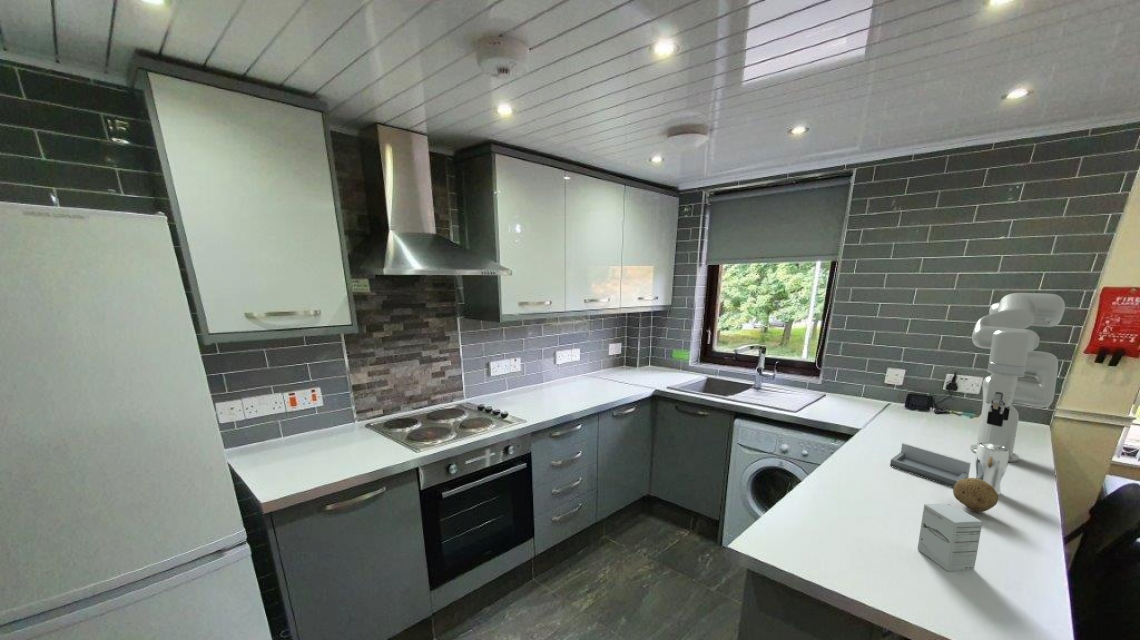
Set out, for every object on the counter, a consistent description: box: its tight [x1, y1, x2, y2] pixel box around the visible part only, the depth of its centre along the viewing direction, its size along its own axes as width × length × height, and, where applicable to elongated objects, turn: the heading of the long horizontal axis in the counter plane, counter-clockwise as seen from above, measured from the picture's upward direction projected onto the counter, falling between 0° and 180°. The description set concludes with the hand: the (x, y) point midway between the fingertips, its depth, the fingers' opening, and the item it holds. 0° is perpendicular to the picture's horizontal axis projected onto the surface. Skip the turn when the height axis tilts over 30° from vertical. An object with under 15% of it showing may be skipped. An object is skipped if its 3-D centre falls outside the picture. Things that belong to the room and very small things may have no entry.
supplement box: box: [917, 502, 983, 572], centre depth 91 cm, size 7×7×13 cm
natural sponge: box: [952, 477, 999, 513], centre depth 111 cm, size 9×9×10 cm
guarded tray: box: [889, 442, 971, 488], centre depth 133 cm, size 12×18×6 cm, turn 34°
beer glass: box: [974, 442, 1009, 497], centre depth 122 cm, size 7×7×15 cm
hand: (997, 422), depth 120 cm, fingers open, 9 cm apart
